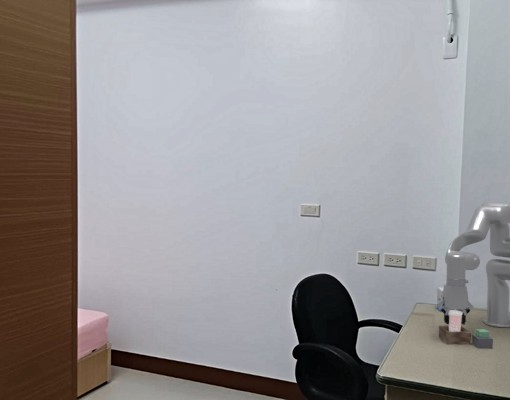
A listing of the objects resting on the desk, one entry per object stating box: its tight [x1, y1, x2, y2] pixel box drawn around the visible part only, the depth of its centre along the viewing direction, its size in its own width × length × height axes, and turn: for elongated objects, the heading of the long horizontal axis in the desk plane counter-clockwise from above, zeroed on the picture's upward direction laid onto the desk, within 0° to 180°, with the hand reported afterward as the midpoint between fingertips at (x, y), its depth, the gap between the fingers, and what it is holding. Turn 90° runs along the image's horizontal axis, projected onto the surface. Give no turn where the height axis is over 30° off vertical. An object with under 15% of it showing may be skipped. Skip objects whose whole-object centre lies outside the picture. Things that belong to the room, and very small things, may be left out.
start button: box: [475, 328, 490, 338], centre depth 209 cm, size 4×4×5 cm
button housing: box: [471, 333, 494, 349], centre depth 209 cm, size 6×6×4 cm
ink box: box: [436, 286, 445, 313], centre depth 268 cm, size 9×8×12 cm
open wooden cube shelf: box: [438, 325, 472, 345], centre depth 216 cm, size 10×10×5 cm
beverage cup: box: [448, 309, 463, 332], centre depth 216 cm, size 6×6×14 cm
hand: (454, 323), depth 216 cm, fingers closed on beverage cup, 6 cm apart
